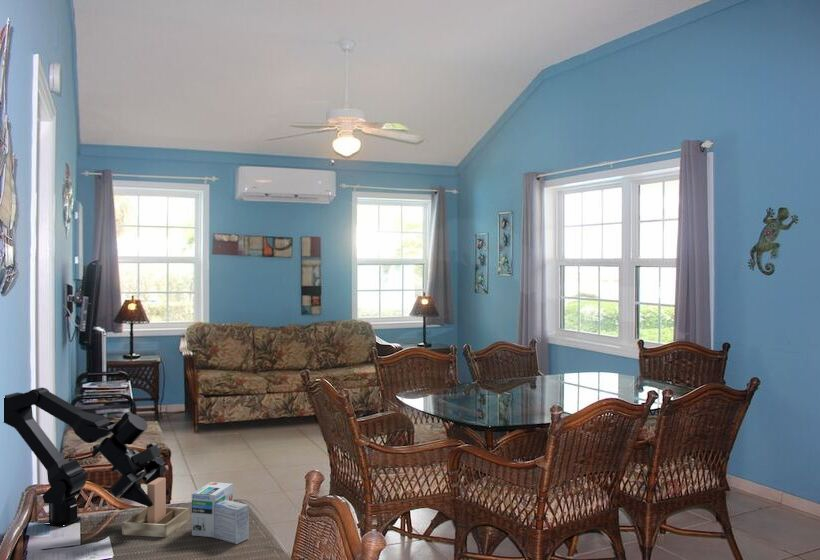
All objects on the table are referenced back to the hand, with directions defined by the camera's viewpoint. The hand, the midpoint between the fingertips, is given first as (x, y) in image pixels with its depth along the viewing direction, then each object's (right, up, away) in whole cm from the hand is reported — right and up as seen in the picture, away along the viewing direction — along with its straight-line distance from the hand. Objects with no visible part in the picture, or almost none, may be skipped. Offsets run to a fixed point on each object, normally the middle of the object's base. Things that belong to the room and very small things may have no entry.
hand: (160, 499), depth 184 cm
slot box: (-1, -7, 0) cm, 7 cm away
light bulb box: (+14, -7, -2) cm, 16 cm away
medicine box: (+20, -7, -8) cm, 23 cm away
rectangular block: (-1, -7, 0) cm, 7 cm away
